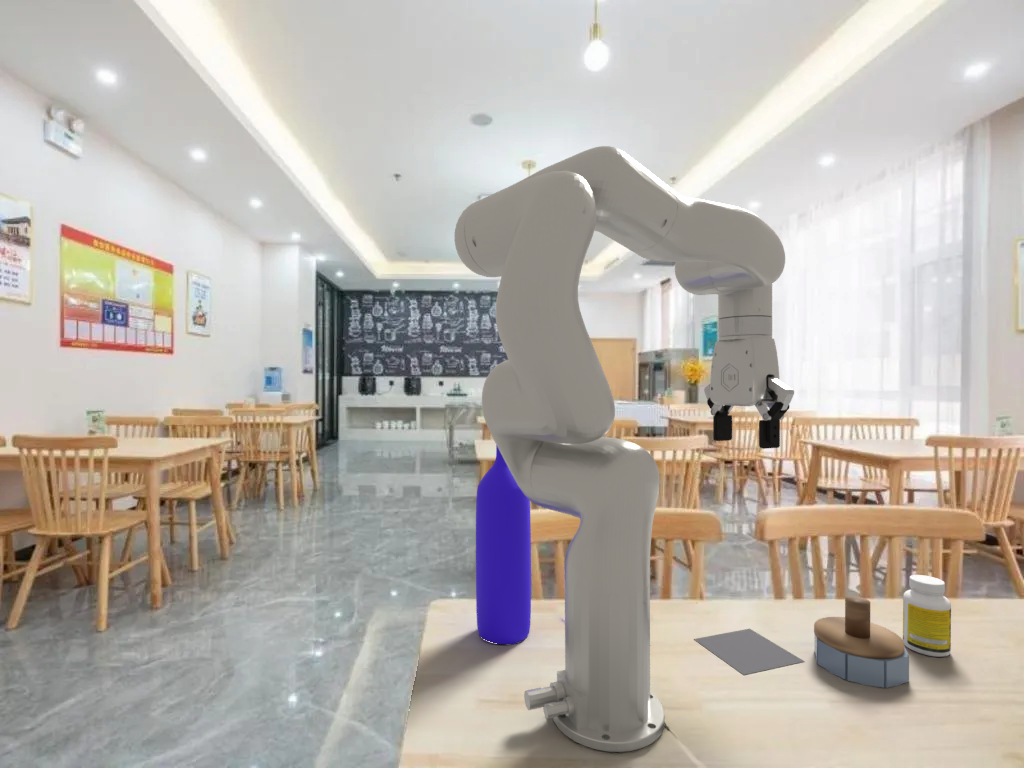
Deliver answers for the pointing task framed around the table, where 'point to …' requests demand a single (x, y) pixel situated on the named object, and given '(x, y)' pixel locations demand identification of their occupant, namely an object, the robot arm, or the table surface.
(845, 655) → the bowl
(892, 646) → the lid
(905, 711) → the table surface
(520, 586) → the bottle
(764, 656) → the mat
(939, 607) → the supplement bottle
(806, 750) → the table surface
